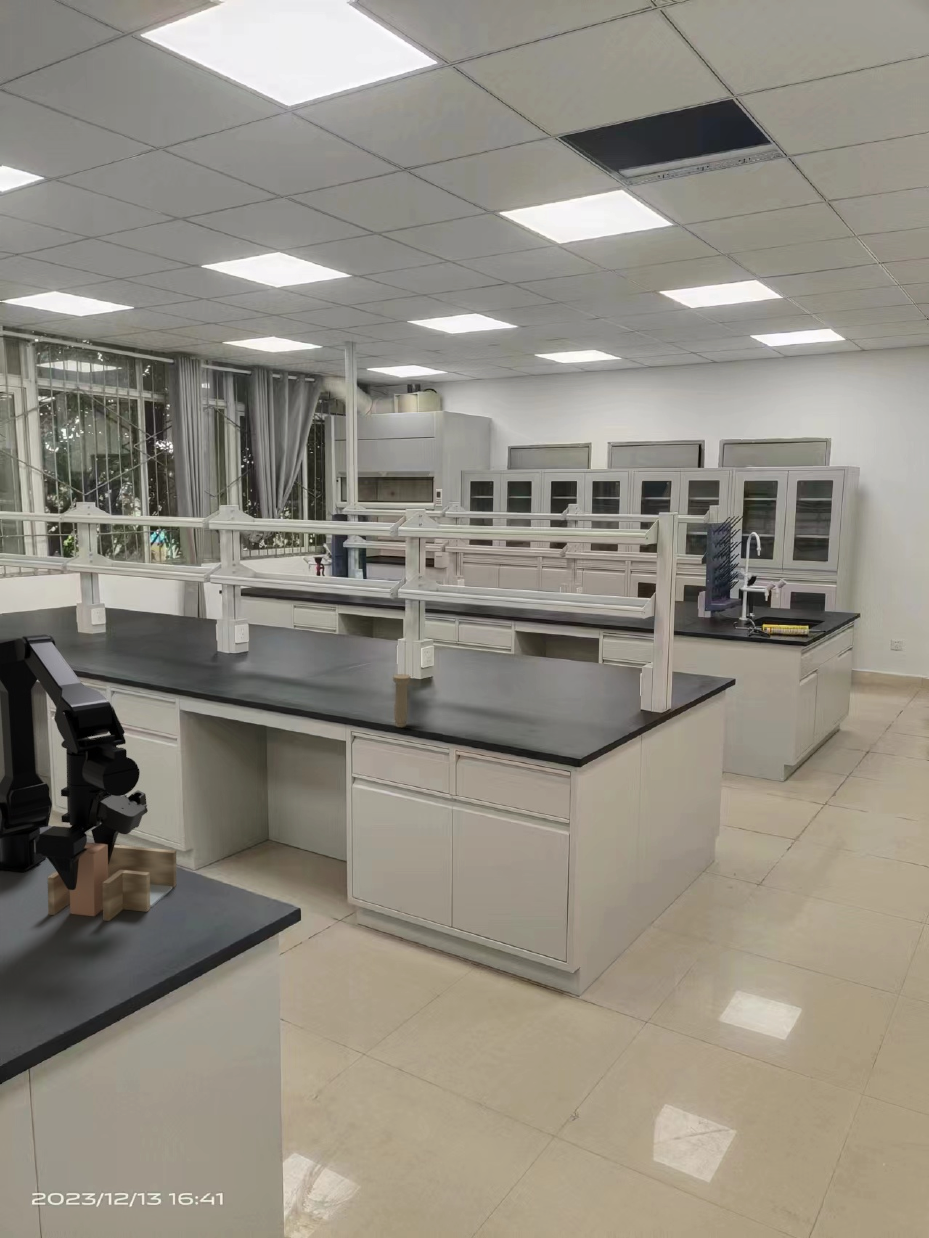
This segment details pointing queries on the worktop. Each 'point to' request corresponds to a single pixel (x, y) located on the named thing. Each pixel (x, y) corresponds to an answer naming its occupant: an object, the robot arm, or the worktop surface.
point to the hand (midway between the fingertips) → (88, 876)
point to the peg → (90, 880)
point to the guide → (125, 881)
